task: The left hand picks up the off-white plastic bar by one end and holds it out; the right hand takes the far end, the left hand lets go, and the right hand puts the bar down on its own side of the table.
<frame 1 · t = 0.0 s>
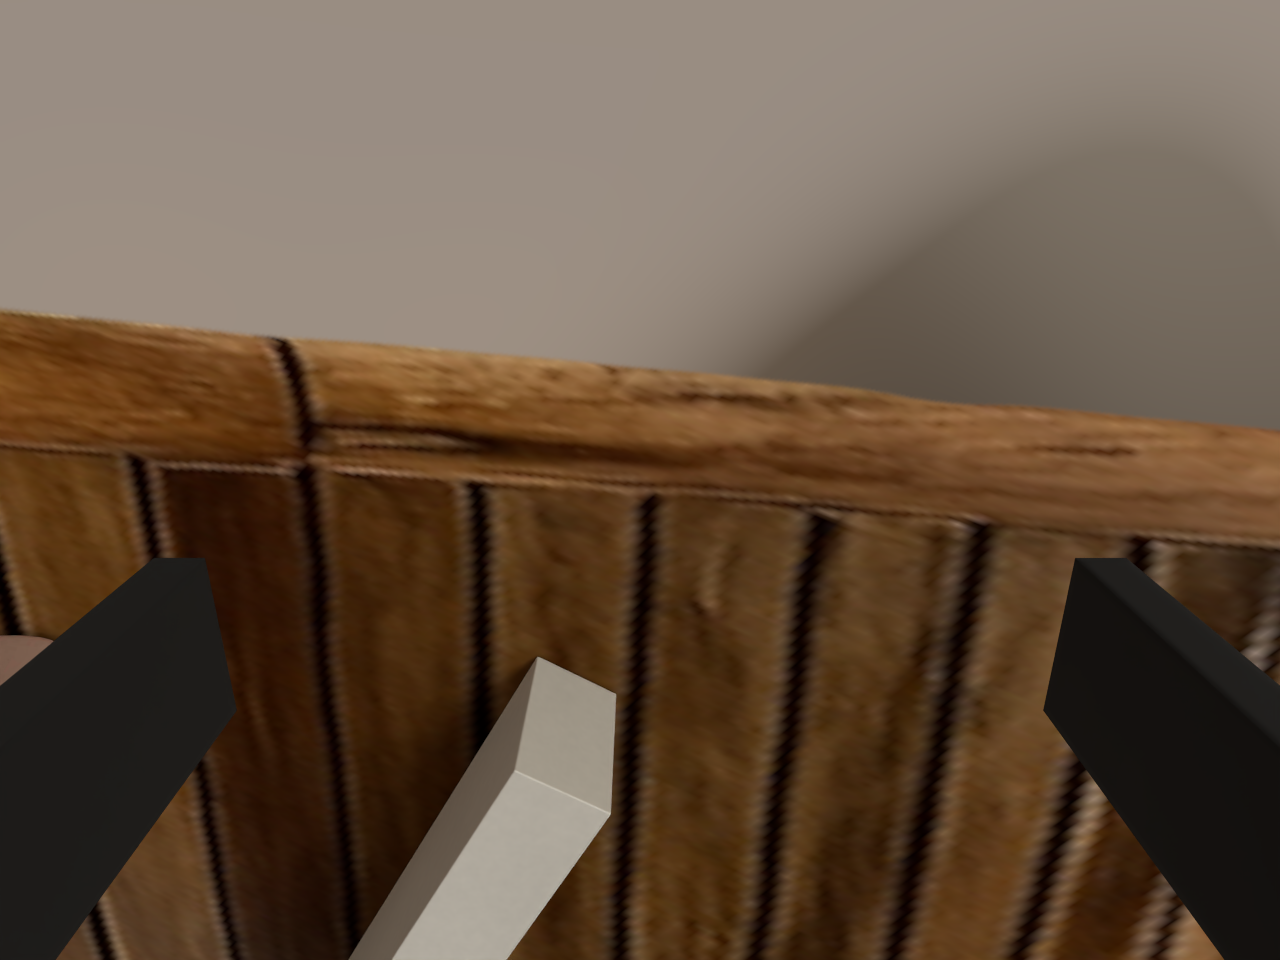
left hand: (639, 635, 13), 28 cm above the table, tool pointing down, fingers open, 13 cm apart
bar: (470, 838, 50), on the table
anatomical model: (9, 724, 47), on the table
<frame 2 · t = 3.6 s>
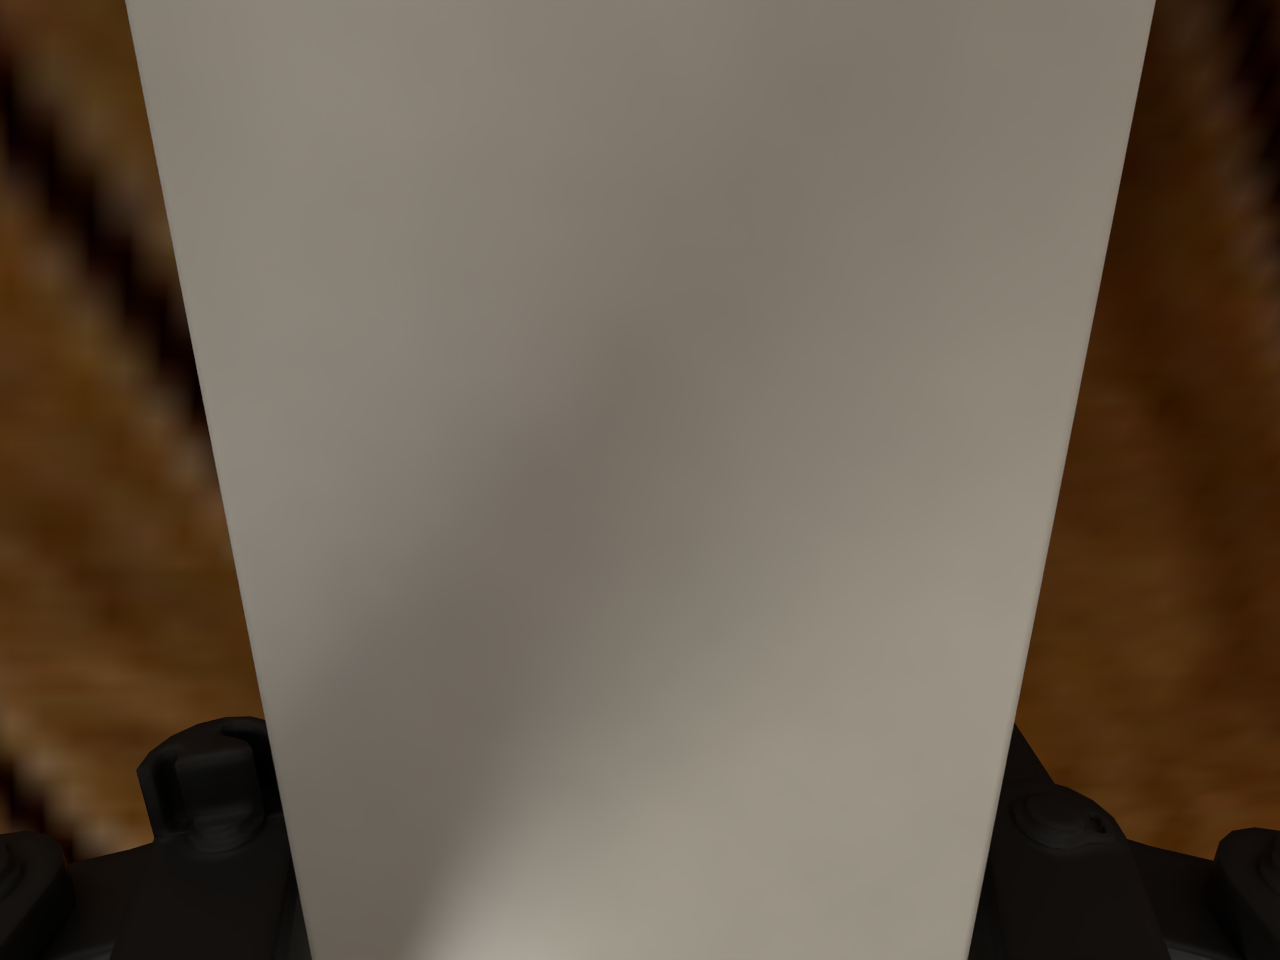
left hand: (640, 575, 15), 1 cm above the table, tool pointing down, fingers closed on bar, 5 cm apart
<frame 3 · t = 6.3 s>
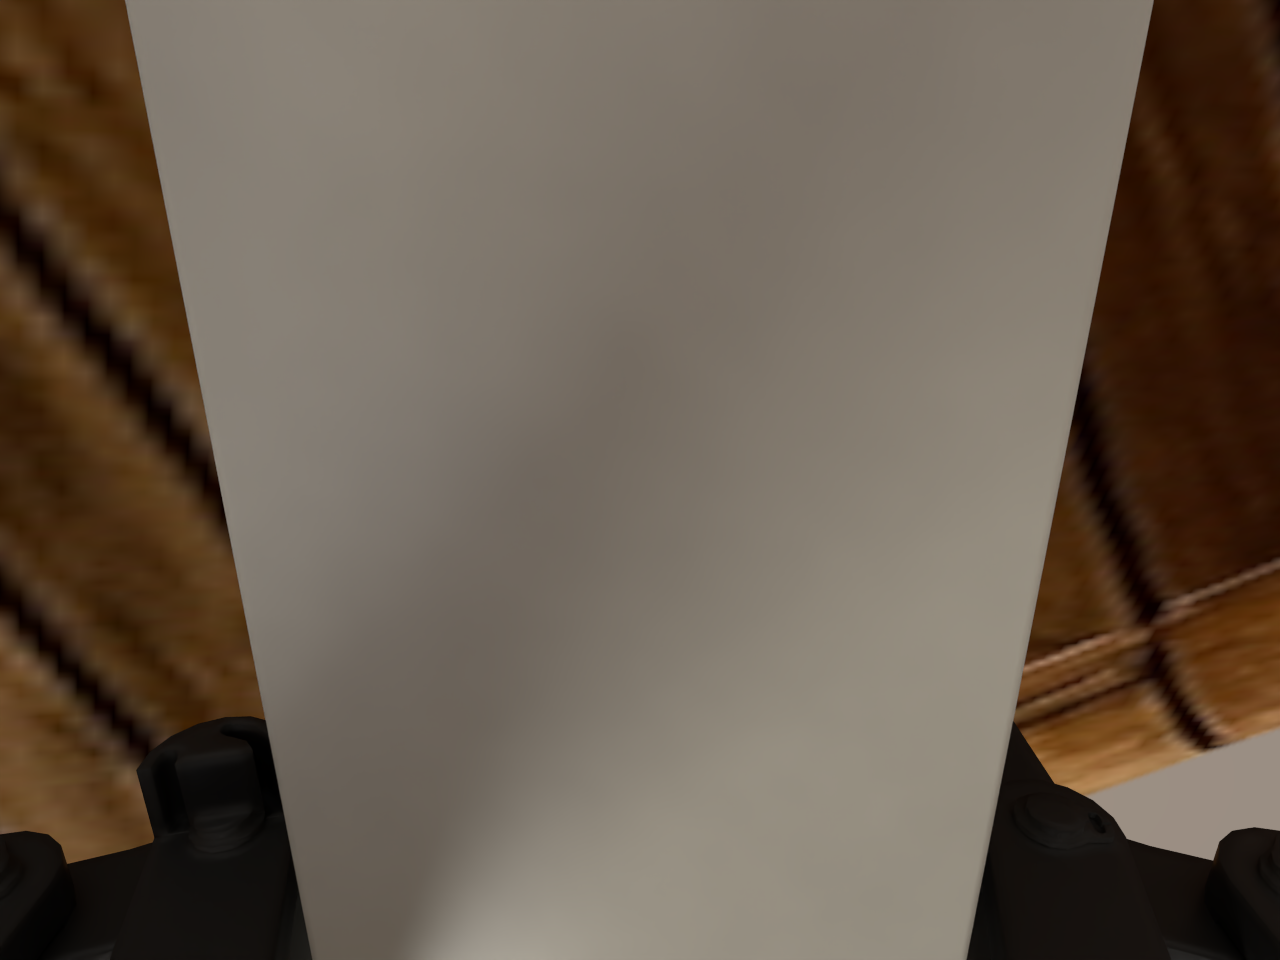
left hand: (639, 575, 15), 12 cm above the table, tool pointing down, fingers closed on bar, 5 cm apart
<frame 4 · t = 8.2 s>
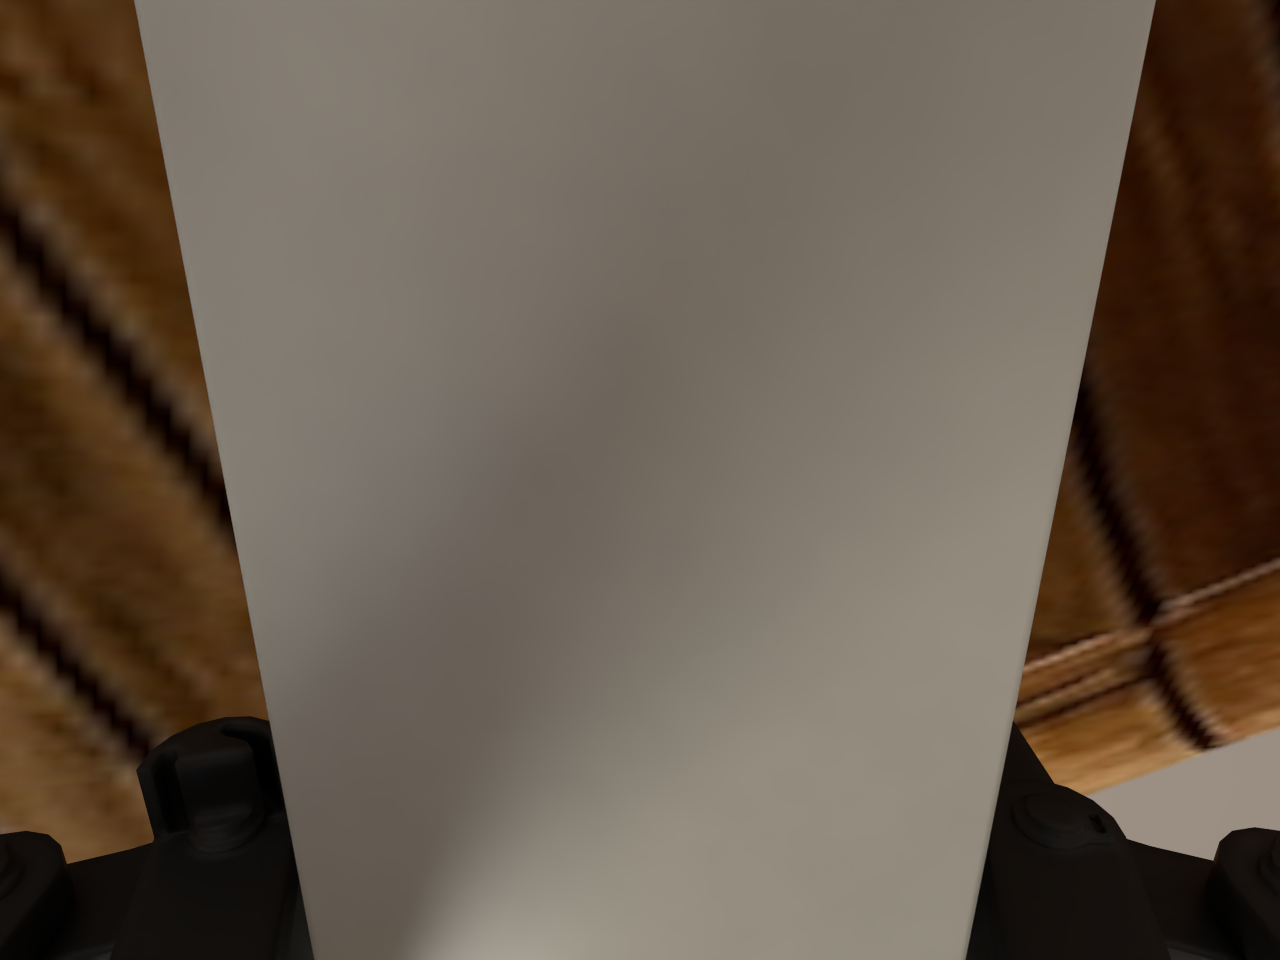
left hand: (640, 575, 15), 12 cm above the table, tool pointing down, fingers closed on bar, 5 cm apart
when the left hand's fingers open (12 cm above the table, at t = 8.9 s): bar stays where it is, held by the right hand.
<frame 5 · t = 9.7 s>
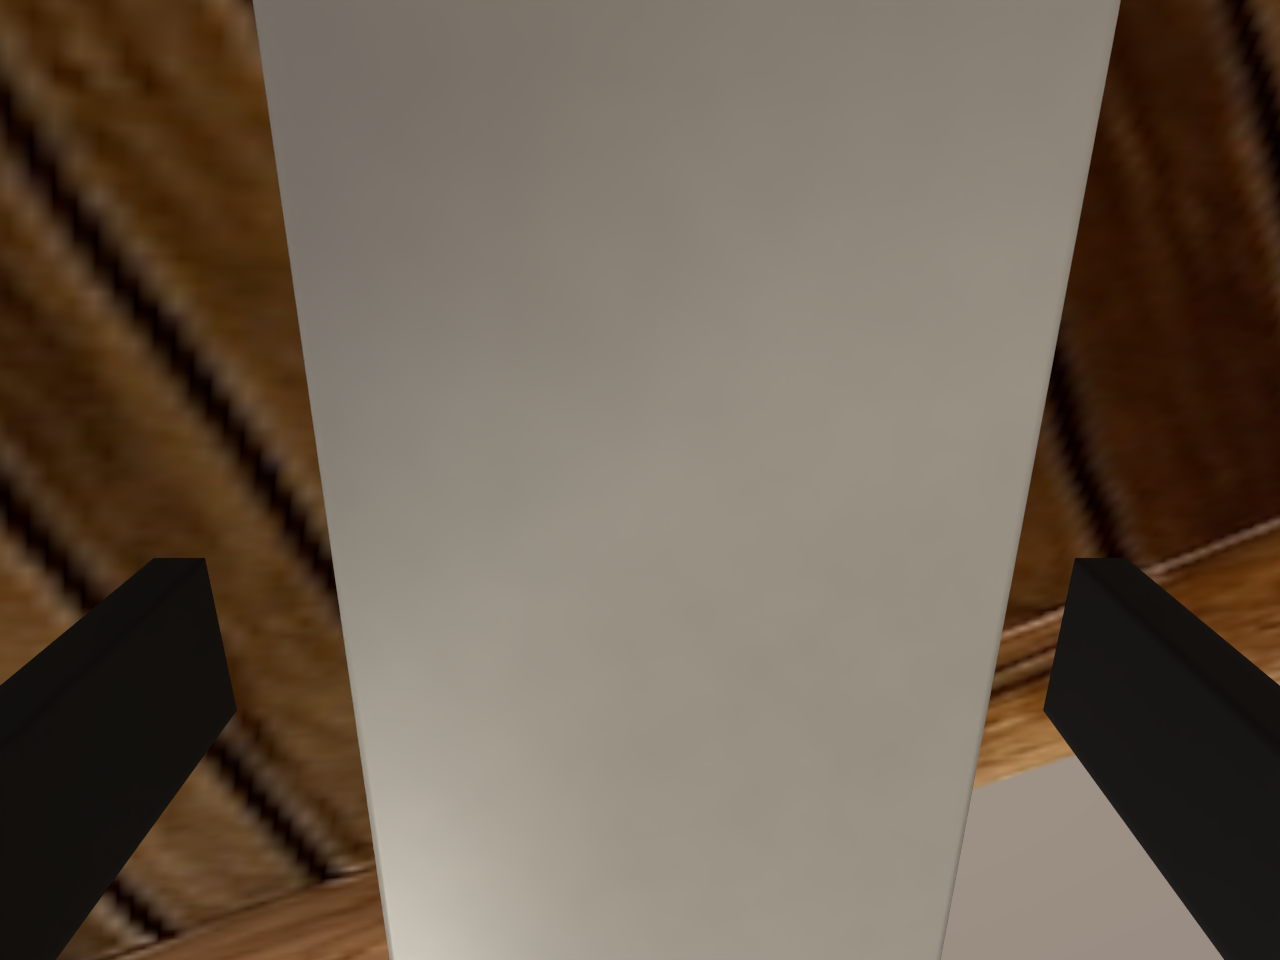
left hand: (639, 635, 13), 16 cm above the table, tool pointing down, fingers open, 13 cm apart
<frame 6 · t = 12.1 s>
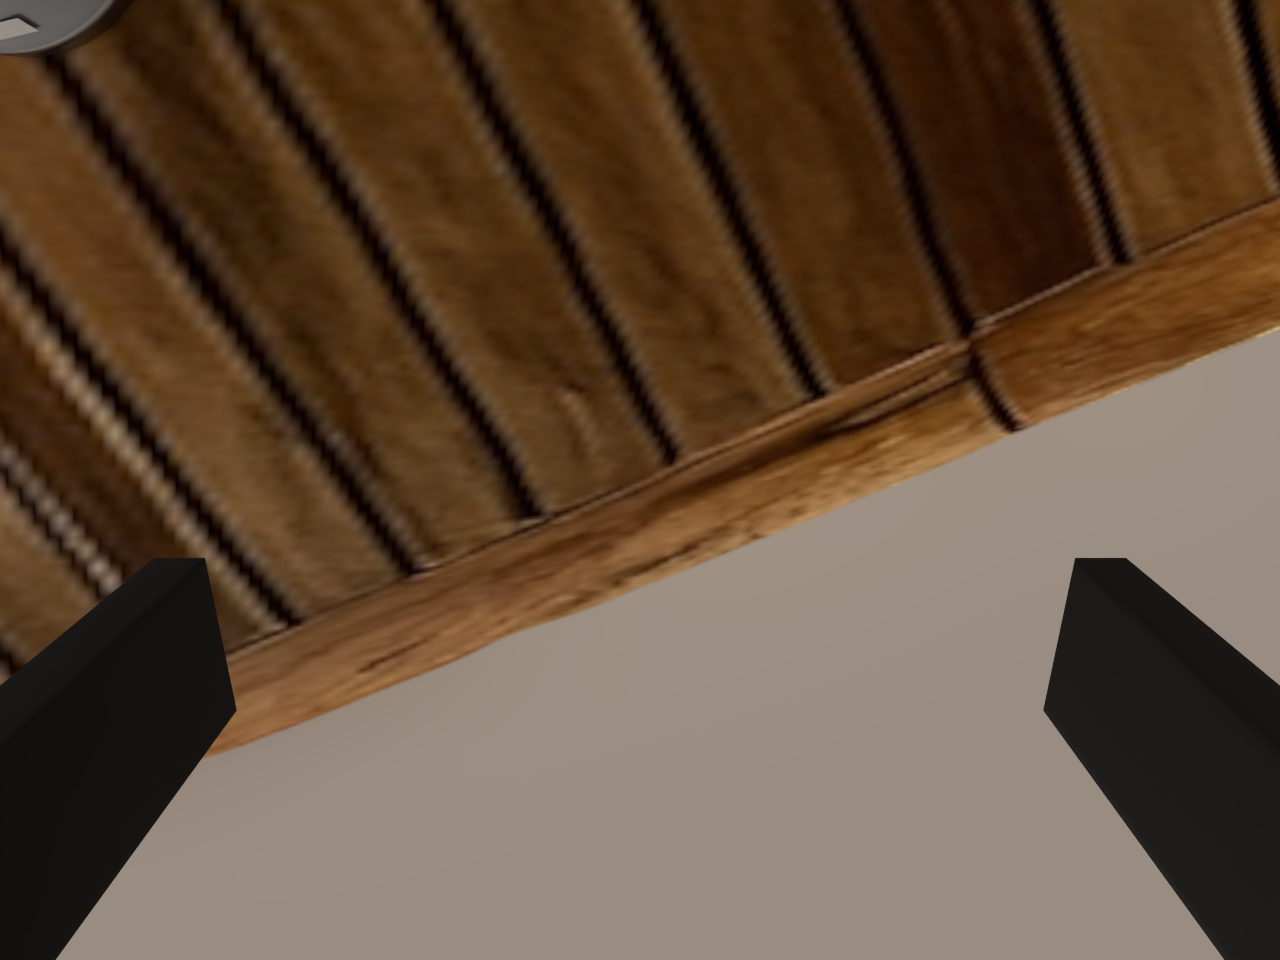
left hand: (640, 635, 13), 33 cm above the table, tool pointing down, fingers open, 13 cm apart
when the right hand's fingers open (7 cm above the table, at t = 16.2 s): bar drops 2 cm, on the table.
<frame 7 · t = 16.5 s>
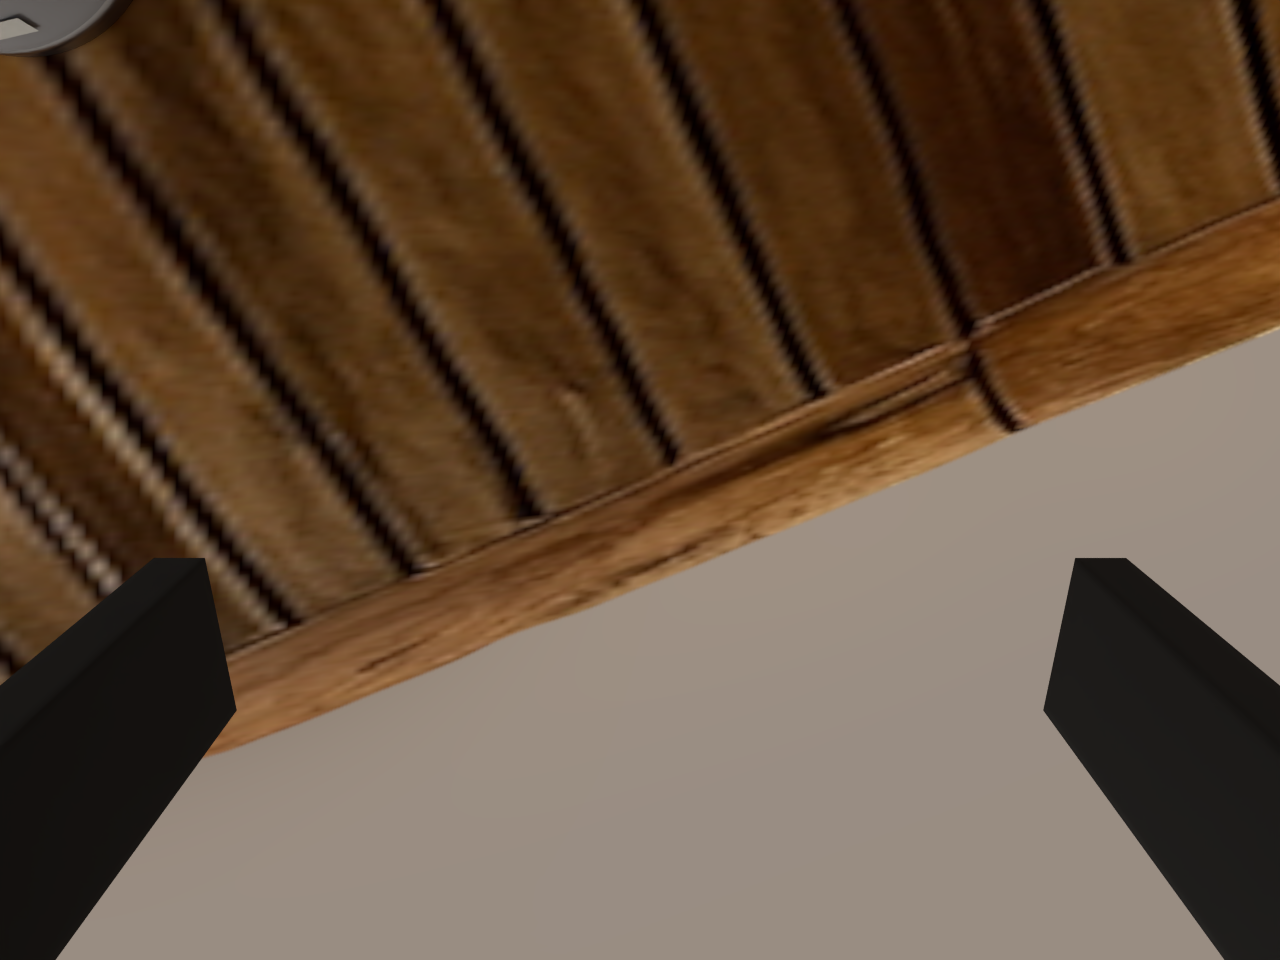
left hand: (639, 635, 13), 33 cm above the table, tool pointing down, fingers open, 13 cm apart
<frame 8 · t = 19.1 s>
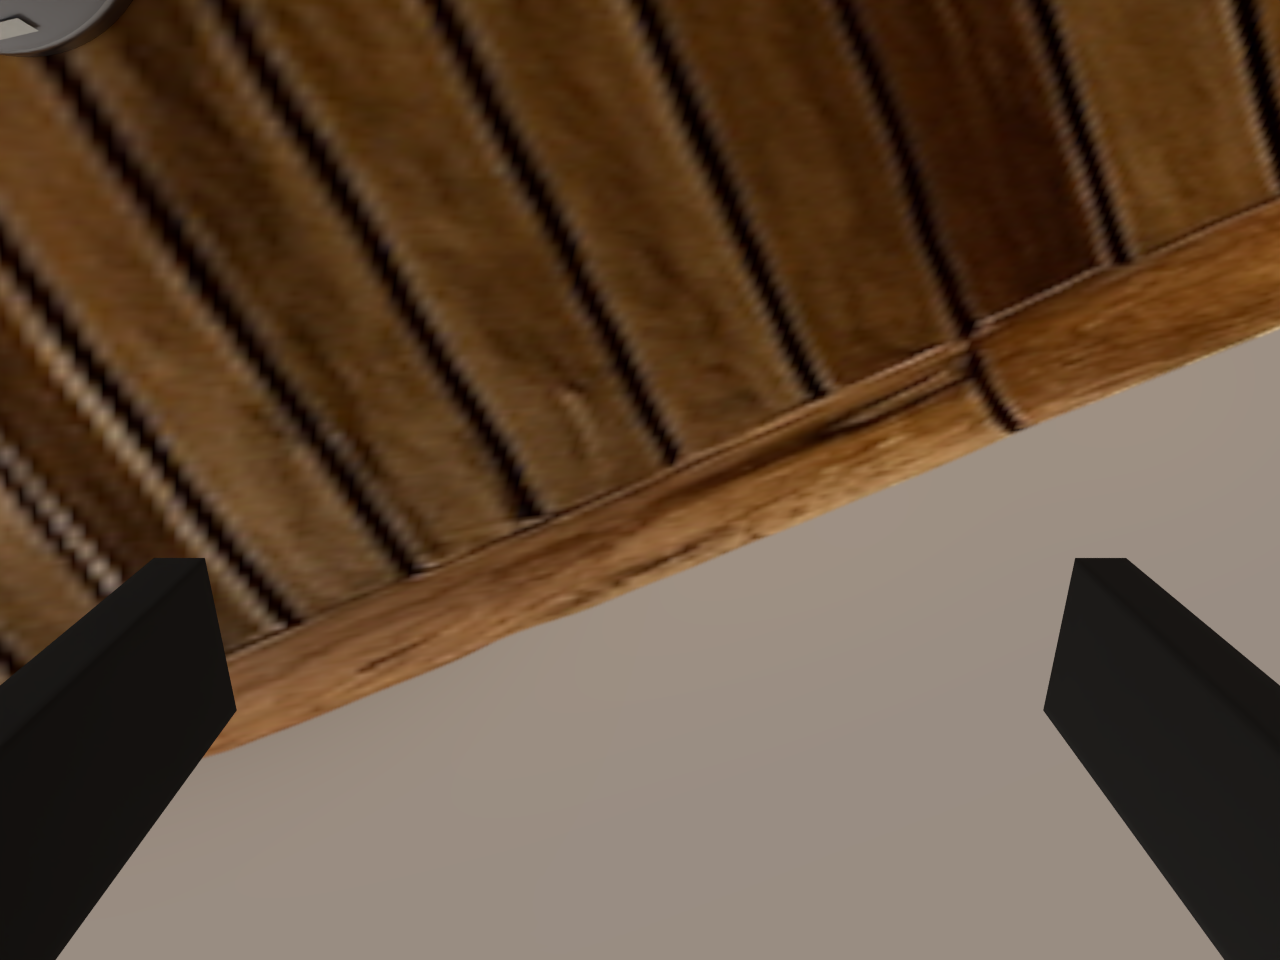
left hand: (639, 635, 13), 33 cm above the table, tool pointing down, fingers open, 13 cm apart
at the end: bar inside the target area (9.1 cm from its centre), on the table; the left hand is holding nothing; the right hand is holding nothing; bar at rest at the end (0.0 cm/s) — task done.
